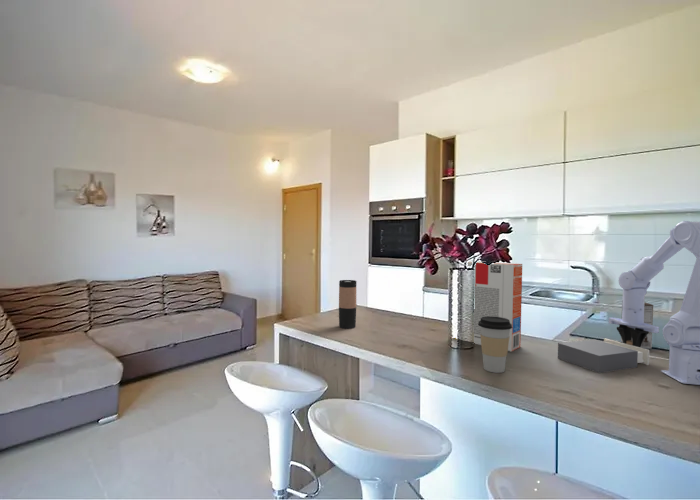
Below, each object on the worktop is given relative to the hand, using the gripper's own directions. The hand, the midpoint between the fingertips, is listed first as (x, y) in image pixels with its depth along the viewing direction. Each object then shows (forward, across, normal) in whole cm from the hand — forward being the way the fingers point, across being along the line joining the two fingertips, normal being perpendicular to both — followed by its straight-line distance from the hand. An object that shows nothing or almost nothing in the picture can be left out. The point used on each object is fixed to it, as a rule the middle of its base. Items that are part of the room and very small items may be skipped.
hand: (631, 349), depth 122 cm
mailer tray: (+2, 0, -9) cm, 9 cm away
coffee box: (+3, -10, +18) cm, 21 cm away
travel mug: (+3, -68, -76) cm, 102 cm away
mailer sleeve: (+3, 0, -16) cm, 16 cm away
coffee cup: (+3, -5, -52) cm, 52 cm away
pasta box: (+3, -30, -35) cm, 46 cm away
